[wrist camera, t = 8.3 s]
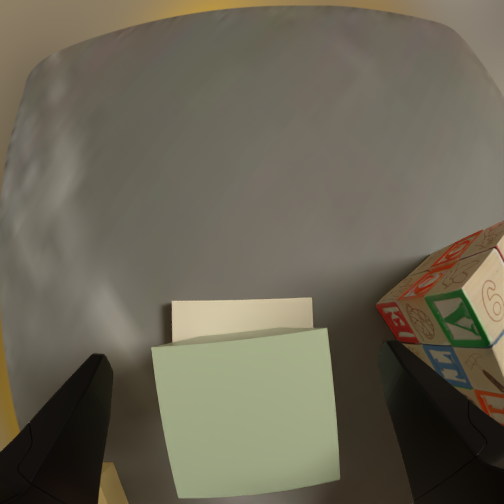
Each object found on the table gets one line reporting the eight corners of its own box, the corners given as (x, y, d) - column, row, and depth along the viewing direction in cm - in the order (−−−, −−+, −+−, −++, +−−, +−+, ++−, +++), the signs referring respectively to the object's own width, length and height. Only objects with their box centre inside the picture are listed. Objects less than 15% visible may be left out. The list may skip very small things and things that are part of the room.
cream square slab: (309, 423, 18) (315, 429, 16) (182, 427, 17) (177, 434, 16) (306, 299, 20) (311, 297, 18) (176, 302, 19) (171, 300, 18)
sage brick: (288, 403, 17) (340, 479, 7) (209, 412, 16) (178, 498, 7) (279, 327, 18) (326, 328, 8) (199, 336, 17) (151, 347, 8)
